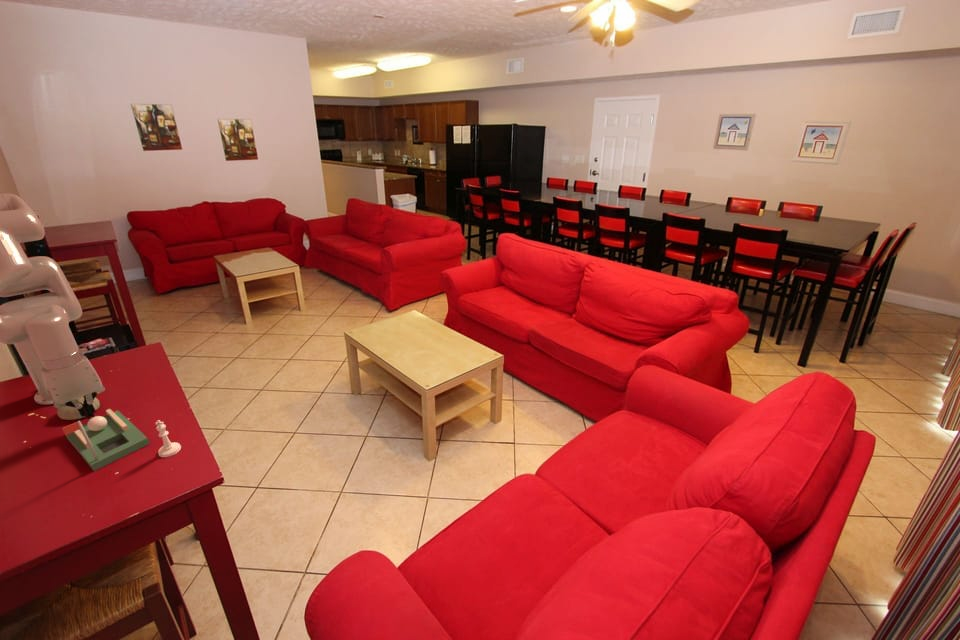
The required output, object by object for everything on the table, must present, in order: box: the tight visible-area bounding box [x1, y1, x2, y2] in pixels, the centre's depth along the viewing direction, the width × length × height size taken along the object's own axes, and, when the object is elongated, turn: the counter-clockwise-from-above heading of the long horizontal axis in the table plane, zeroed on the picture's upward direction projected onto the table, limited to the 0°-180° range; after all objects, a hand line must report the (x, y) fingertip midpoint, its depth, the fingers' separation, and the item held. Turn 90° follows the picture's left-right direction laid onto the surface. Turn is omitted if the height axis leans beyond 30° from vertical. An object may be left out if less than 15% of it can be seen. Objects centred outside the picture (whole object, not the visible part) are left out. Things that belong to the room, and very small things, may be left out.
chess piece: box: [154, 419, 182, 458], centre depth 109 cm, size 5×5×10 cm
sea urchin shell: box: [56, 396, 101, 421], centre depth 124 cm, size 9×8×8 cm
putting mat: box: [61, 408, 150, 472], centre depth 110 cm, size 20×14×14 cm
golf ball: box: [87, 415, 107, 431], centre depth 114 cm, size 4×4×4 cm
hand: (89, 416), depth 118 cm, fingers closed
